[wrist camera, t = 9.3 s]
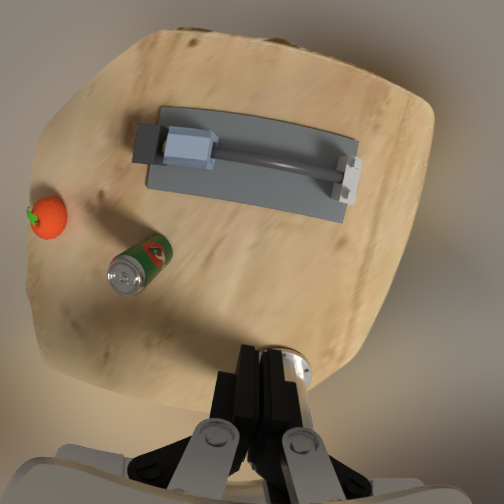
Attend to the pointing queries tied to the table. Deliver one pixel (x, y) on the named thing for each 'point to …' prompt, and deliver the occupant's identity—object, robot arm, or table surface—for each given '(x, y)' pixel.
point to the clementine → (48, 217)
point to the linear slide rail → (257, 163)
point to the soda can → (139, 265)
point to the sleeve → (190, 147)
